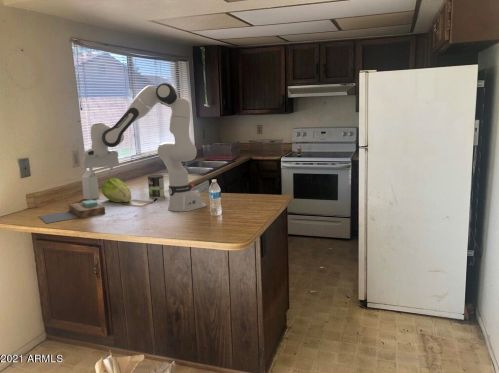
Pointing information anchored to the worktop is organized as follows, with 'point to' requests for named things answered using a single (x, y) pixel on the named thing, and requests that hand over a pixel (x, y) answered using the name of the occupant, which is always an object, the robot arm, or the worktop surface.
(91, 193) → the milk carton
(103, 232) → the worktop surface
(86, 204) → the teal block
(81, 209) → the board
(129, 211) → the worktop surface
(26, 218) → the worktop surface
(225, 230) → the worktop surface
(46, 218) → the grey mat
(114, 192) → the lettuce
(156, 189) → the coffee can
